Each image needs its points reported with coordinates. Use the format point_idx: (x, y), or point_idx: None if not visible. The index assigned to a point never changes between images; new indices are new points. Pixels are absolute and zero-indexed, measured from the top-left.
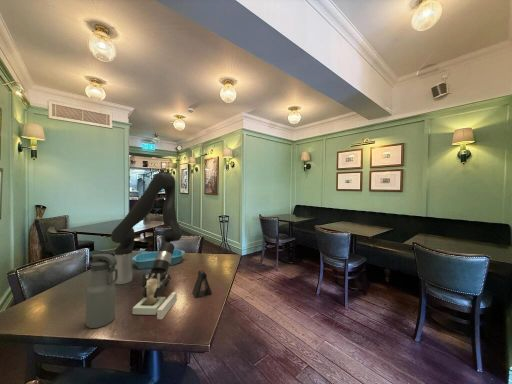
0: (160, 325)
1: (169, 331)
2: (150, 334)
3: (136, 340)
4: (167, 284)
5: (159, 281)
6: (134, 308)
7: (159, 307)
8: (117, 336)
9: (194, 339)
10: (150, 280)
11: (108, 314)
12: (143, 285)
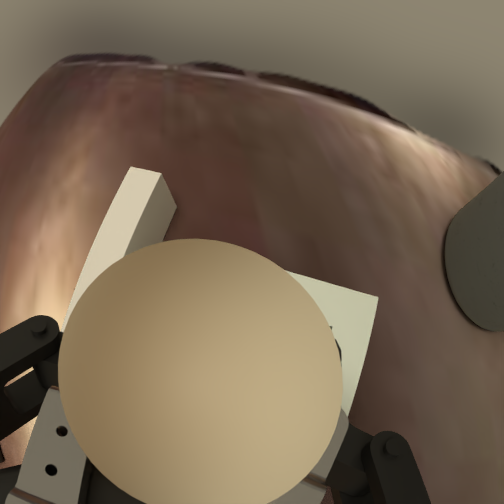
0: (158, 149)
1: (124, 108)
2: (202, 100)
3: (255, 82)
4: (11, 393)
5: (51, 392)
6: (362, 293)
7: (146, 202)
8: (350, 121)
9: (65, 76)
10: (236, 406)
11: (476, 202)
12: (380, 442)
